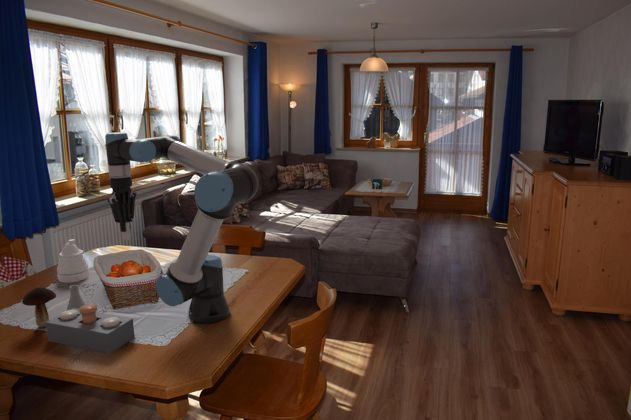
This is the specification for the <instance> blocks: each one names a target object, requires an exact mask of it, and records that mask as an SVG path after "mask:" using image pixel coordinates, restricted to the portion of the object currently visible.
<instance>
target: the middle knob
mask: <svg viewBox="0 0 631 420" xmlns="http://www.w3.org/2000/svg"><path fill="white" fill-rule="evenodd" d="M96 312H98V305H97V304H95V303H90V304H86V305H84V306H81V307H80V308H79V313H80V314H82V321H83V324H88V325H91V324H92V323H94V322H96V321H97V318H96Z"/></svg>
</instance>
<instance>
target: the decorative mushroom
mask: <svg viewBox="0 0 631 420" xmlns="http://www.w3.org/2000/svg"><path fill="white" fill-rule="evenodd" d="M56 298H57V294H56V293H55V292H54V291H53V290H52V289H49V288H46V287H43V286H42V287H41V286H38V287H34V288H33V289H31V290H29V291H28V292H27V293H26V294H25V295H23V298H22V301H21V304H23V305H25V306H29V307H30V306H32V307H33V306H35V307H34V315H35V319H34V320H35V324H36V326H38V328H47V326H46V322H48V321H50V317H49V310H48V308H47V306H46V304H47V303H48V302H50V301H52V300H54V299H56Z"/></svg>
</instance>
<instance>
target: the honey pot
mask: <svg viewBox="0 0 631 420" xmlns="http://www.w3.org/2000/svg"><path fill="white" fill-rule="evenodd" d="M75 241H76V239H75V238H72V239H71V238H70V239H68V241H67V242H66V243H65V244H64V245H63V247H62V250H61V252H59V255H58V256H59V260H58V263H57V267H56V272H57V274H56V275H57V280H58V281H59V282H60V283H66V284H67V283H76V282H81V281H83V280H85V279H88V278H89V276H90V271H89V265H88V263H87V260H86V259H85V256H84V255H83V254H84V250H83V249H80V248H79V247H78V246H77V245H76V244H75Z"/></svg>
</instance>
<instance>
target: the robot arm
mask: <svg viewBox="0 0 631 420" xmlns="http://www.w3.org/2000/svg"><path fill="white" fill-rule="evenodd" d="M128 136H129V135H128V133H127V132H124V131H121V132H119V131H118V132H109V133H108V132H107V133H106V134H105V135H104V139H105V143H104V144H105V151H106V159H107V160H106V161H107V168H108V176H109V187H110V188H111V189H112V191H111V197H108V198H107V202H108V203H109V205H110V209H111V212H112V215H113V218H114V219H113V220H114V222H115V223H117V224H119V229H120V232H121V239H122V241H130V240H131V239H132V237H131V236H132V235H131V227H132V226H131V222H133V221H134V220H133V219H135V206H136V205H135V204H136V197H137V192H136V191H132V188H131V187H132V186H133V178H132V176H131V175H132V165H131V162H136V163H149V162H151V161H152V160H156V159H163V158H164V159H167V160H169V161H171V162H173V163H175V164H178V165H181V166H183V167H185V168H188V170H189V169H190V170H192V171H194V172H196V173H199V174H201V175H202V176H201V177H200V178H199V179H198V180H197V181H196V184H195V187H194V190H193V191H194V193H193V195H195V197H194V200H195V205H196V207H197V212H196V215H195V217H194V219H193V221H192V224H191V226H190V229H189V231H188V233H187V236H186V238H185V240H184V242H183V245H182V247H181V250H180V252H179V254H178V257H177V258H175V259H173V260H172V261H171V262H170V264H169V266H168V269H167V270H166V272H165V273H163V274H162V273H161V274H160V275H159V276H158V277H157V278H156V280H155V290H156V292H157V295H158V297H159V298H160V300H161V301H162V302H163V303H164V304H165V305H167V306H169V307H176V306H179V305H182V304H184V303H185V302H188V301H190V304H189V308H188V319H189V320H190V321H191V322H193V323H197V324H212V323H216V322H217V323H218V322H221V321H222V320H225V319H227V318H228V317H229V315H230V314H231V313H230V306H229V303H228V301H227V299H226V296H225V294H224V293H225V292H224V291H225V290H224V274H223V273H224V271H223V267H224V266H223V261H222V258H221V257H220V256H217V255H215V254H214V255H213V254H209V252H210V251H211V248H212V246H213V243H214V242H215V239H216V237H217V235H218V233H219V231H220V228H221V226H222V224H223V222H224V221H226V220H228V219H230V218H231V216H232V214H233V213H234V210H235V207H236V206H237V205H240V204H242V203H245V202H248V201H250V200H251V199H253V198H254V197H255V195H256V193H257V192H258V189H259V182H260V181H259V178H258V174H256V171H254V170H253V168H251V167H249V166H248V165H246V164H243V163H241V162H238V161H236V160H231V161H228V160H225V159H223V158H220V157H218V156H216V155H213V154H212V153H208V152H206V151H204V150H201V149H198V148H196V147H193V146H191V145H188V144H186V143H185V142H182V140H181V139H180V137H178V136H177V135H163V136H155V137H146V138H137V139H134V138H133V139H132V138H131V139H130V138H129V137H128Z"/></svg>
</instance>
